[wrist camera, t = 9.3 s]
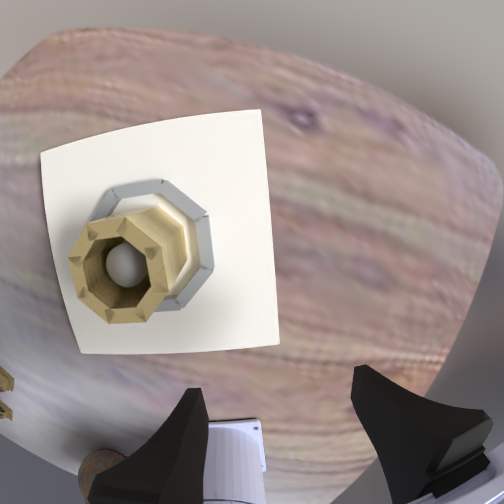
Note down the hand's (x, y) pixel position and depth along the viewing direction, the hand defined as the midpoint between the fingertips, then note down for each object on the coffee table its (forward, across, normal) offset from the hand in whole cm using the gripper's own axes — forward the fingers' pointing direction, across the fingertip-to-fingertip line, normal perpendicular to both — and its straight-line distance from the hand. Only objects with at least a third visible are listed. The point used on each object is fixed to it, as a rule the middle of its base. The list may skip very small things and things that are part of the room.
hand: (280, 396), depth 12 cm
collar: (+8, +7, -6) cm, 12 cm away
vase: (+10, +19, +19) cm, 29 cm away
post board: (+9, +7, -6) cm, 13 cm away
